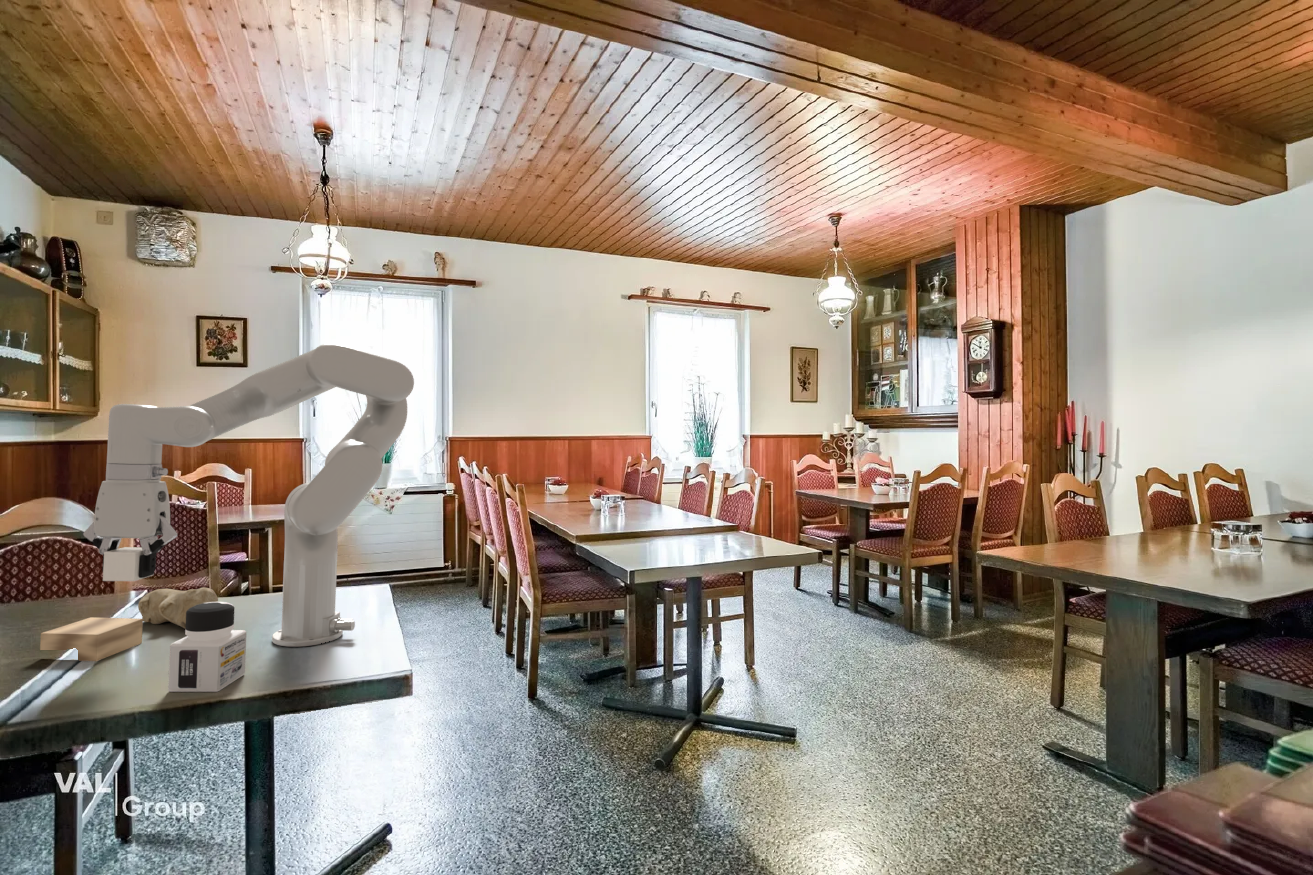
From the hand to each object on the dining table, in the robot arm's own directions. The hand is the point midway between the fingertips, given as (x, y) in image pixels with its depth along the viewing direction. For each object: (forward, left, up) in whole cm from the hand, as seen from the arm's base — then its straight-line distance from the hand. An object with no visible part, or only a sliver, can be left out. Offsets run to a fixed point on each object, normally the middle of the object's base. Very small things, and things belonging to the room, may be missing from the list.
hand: (128, 574), depth 112 cm
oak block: (+10, -6, -16) cm, 20 cm away
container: (-20, +9, -16) cm, 27 cm away
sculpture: (+6, -23, -16) cm, 28 cm away
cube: (0, 0, -1) cm, 1 cm away
